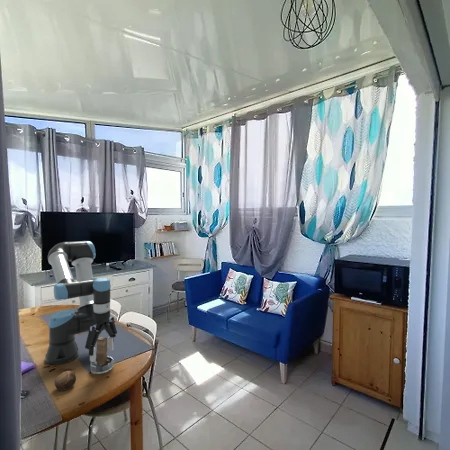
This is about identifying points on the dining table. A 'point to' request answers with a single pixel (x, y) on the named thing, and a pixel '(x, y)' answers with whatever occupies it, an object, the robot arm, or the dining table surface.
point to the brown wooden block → (102, 350)
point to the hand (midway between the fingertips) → (102, 355)
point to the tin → (99, 368)
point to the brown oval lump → (65, 380)
